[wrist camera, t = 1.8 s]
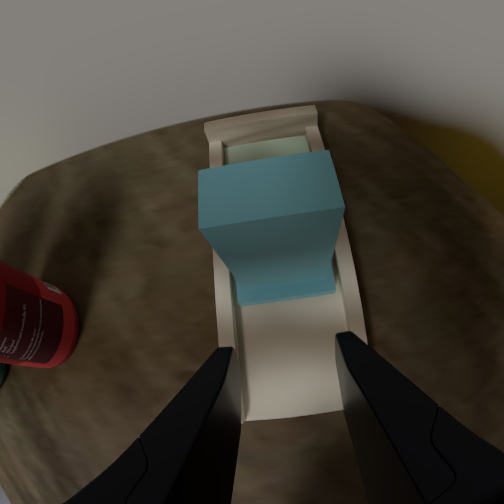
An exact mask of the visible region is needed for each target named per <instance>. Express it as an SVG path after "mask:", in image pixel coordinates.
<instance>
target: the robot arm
mask: <svg viewBox="0 0 504 504" xmlns="http://www.w3.org/2000/svg"><path fill="white" fill-rule="evenodd" d="M335 361H336V368H337V374H338V379H339V386H340V392H341V398H342V405H343V410H344V415H345V419H346V422H347V426H348V429H349V433H350V436H351V440H352V443H353V447H354V450H355V454H356V458H357V461H358V465H359V469H360V472H361V476H362V480H363V484H364V487H365V491H366V495H367V499H368V503H369V504H504V452H502V451H501V450H499V449H497V448H496V447H494V446H493V445H491V444H490V443H488V442H487V441H485V440H483V439H482V438H480V437H479V436H478V435H476V434H475V433H473V432H472V431H470V430H469V429H467V428H466V427H465V426H463V425H462V424H461V423H460V422H458V421H457V420H456V419H455V418H453V417H452V416H451V415H450V414H449V413H447V412H446V411H445V410H444V409H443V408H442V407H438V404H437V403H436V402H434V401H433V400H432V399H431V398H430V397H428V396H427V395H426V394H425V393H424V392H423V391H421V390H420V389H419V388H418V387H417V386H416V385H414V384H413V383H412V382H411V381H410V380H409V379H407V378H406V377H405V376H404V375H403V374H401V373H400V372H399V371H398V370H397V369H396V368H394V367H393V366H392V365H391V364H390V363H389V362H387V361H386V360H385V359H384V358H383V357H381V356H380V355H379V354H378V353H377V352H376V351H374V350H373V349H372V348H371V347H370V346H369V345H367V344H366V343H365V342H364V341H363V340H361V339H360V338H359V337H358V336H357V335H356V334H354V333H353V332H352V331H344V332H339V333H336V335H335ZM240 433H241V369H240V365H239V362H238V358H237V355H236V352H235V349H234V347H232V346H228V347H219V348H217V349H216V350H215V351H214V352H213V354H212V355H211V356H210V357H209V358H208V359H207V360H206V362H205V363H204V364H203V365H202V366H201V367H200V369H199V370H198V371H197V372H196V373H195V374H194V376H193V377H192V378H191V379H190V380H189V381H188V382H187V384H186V385H185V386H184V387H183V388H182V389H181V390H180V392H179V393H178V394H177V395H176V396H175V397H174V398H173V399H172V401H171V402H170V403H169V404H168V405H167V406H166V407H165V408H164V410H163V411H162V412H161V413H160V414H159V415H158V416H157V417H156V418H155V420H154V421H153V422H152V423H151V424H150V425H149V426H148V427H147V428H146V429H145V431H144V432H143V433H142V434H141V435H140V438H137V439H136V440H135V441H134V442H133V443H132V444H131V446H130V447H129V448H128V449H127V450H126V451H125V452H124V453H123V454H122V455H121V456H120V457H119V458H118V459H117V460H116V461H115V462H114V463H112V464H111V465H110V466H109V467H108V468H107V469H106V470H105V471H103V472H102V473H101V474H100V475H99V476H98V477H96V478H95V479H94V480H93V481H91V482H90V483H89V484H88V485H86V486H85V487H84V488H83V489H81V490H80V491H79V492H78V493H76V494H75V495H74V496H72V497H71V498H70V499H69V500H67V501H66V502H64V503H63V504H231V499H232V492H233V485H234V477H235V470H236V463H237V455H238V448H239V440H240Z"/></svg>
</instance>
